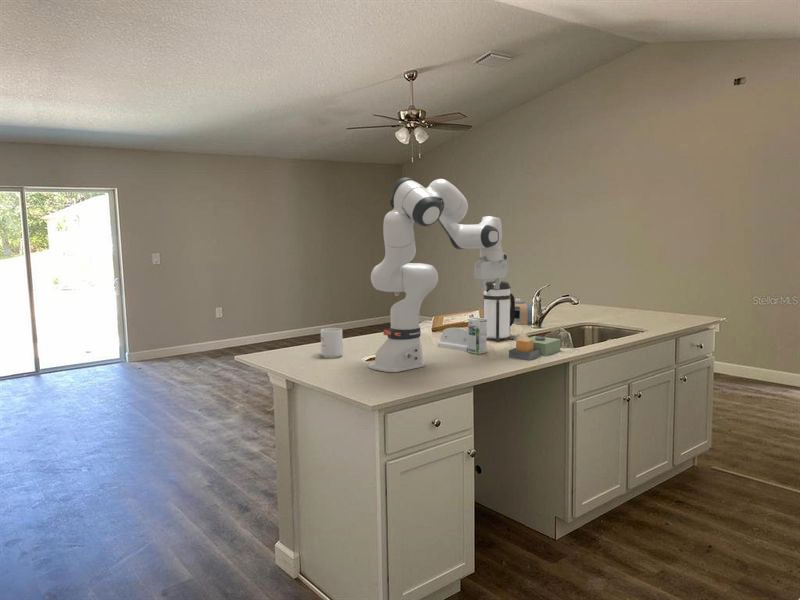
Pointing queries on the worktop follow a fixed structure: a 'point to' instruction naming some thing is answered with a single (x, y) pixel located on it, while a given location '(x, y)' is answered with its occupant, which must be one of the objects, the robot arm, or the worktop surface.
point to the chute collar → (524, 354)
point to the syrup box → (477, 335)
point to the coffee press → (498, 310)
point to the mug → (331, 342)
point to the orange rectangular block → (524, 345)
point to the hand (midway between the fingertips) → (490, 289)
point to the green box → (546, 345)
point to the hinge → (454, 339)
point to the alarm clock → (522, 313)
